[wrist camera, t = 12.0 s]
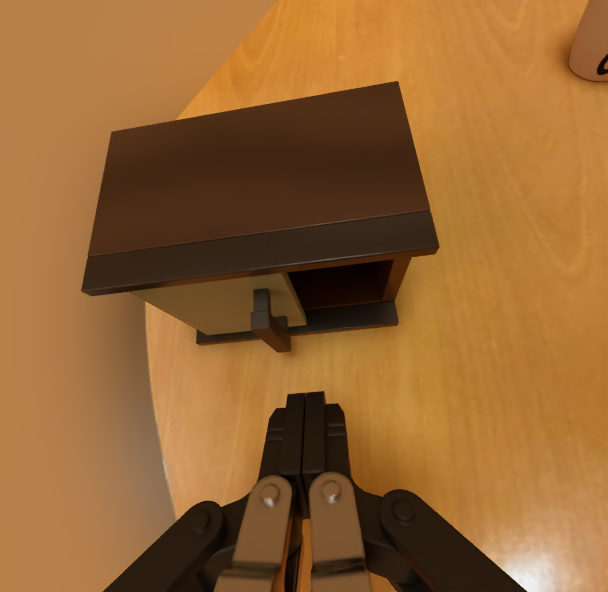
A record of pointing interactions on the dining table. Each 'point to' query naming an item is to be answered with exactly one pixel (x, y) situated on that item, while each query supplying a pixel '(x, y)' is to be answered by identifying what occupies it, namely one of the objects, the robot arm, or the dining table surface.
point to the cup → (591, 43)
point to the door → (235, 306)
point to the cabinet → (269, 206)
